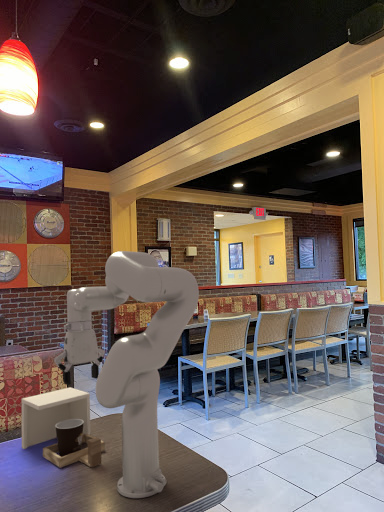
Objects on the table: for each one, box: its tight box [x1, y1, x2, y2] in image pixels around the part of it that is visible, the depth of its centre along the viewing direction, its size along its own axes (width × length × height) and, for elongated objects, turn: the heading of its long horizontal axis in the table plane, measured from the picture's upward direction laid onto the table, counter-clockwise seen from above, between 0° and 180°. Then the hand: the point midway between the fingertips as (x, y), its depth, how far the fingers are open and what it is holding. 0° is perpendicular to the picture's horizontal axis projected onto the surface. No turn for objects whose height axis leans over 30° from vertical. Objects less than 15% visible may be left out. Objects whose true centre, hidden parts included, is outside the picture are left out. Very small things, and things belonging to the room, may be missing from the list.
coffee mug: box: [55, 419, 84, 457], centre depth 119 cm, size 12×9×10 cm
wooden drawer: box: [42, 434, 106, 468], centre depth 116 cm, size 20×15×7 cm
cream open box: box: [21, 387, 91, 450], centre depth 128 cm, size 14×18×16 cm
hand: (81, 381), depth 119 cm, fingers open, 9 cm apart
